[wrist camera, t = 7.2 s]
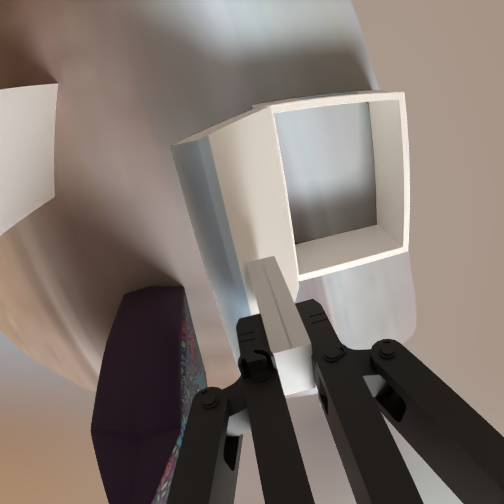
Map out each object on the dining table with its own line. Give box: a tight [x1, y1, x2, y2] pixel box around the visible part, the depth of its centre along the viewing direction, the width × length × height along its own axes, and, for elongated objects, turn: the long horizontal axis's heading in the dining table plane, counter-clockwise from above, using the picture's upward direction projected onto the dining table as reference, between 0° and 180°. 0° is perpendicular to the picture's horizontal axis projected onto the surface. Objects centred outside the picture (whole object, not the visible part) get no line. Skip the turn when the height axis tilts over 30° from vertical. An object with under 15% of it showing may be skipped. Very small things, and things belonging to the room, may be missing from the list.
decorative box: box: [91, 287, 207, 504], centre depth 27 cm, size 8×16×28 cm, turn 5°
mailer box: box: [252, 90, 410, 281], centre depth 30 cm, size 16×13×6 cm
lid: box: [171, 106, 299, 376], centre depth 21 cm, size 16×13×1 cm
